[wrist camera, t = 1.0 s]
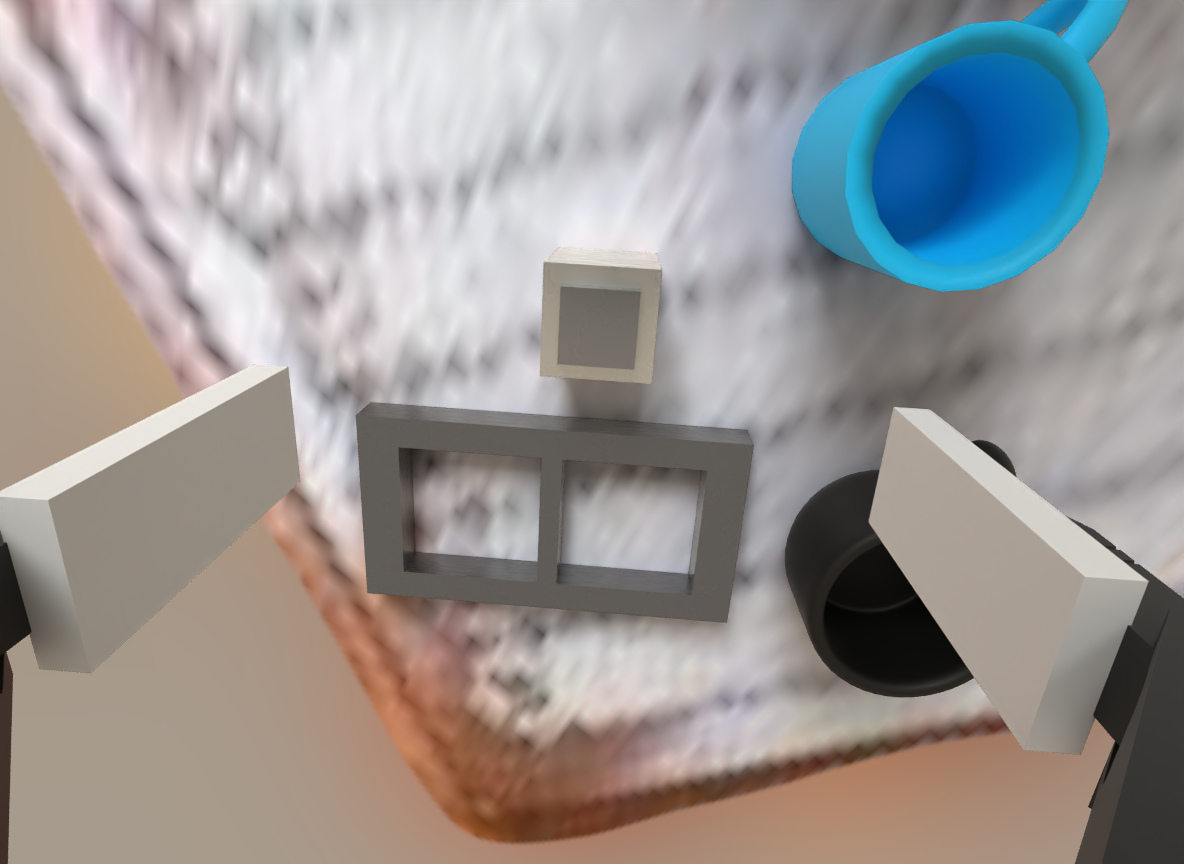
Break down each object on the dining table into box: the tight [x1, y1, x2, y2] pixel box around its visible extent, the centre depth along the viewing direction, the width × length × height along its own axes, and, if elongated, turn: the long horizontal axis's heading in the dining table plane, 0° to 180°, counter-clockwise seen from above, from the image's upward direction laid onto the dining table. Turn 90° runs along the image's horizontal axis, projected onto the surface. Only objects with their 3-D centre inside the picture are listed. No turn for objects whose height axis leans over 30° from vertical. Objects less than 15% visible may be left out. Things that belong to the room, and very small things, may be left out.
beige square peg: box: [540, 247, 662, 384], centre depth 29 cm, size 4×4×7 cm
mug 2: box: [785, 440, 1016, 697], centre depth 32 cm, size 12×9×7 cm
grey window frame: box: [356, 402, 754, 623], centre depth 35 cm, size 10×19×2 cm, turn 87°
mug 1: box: [792, 0, 1128, 292], centre depth 26 cm, size 12×8×8 cm
